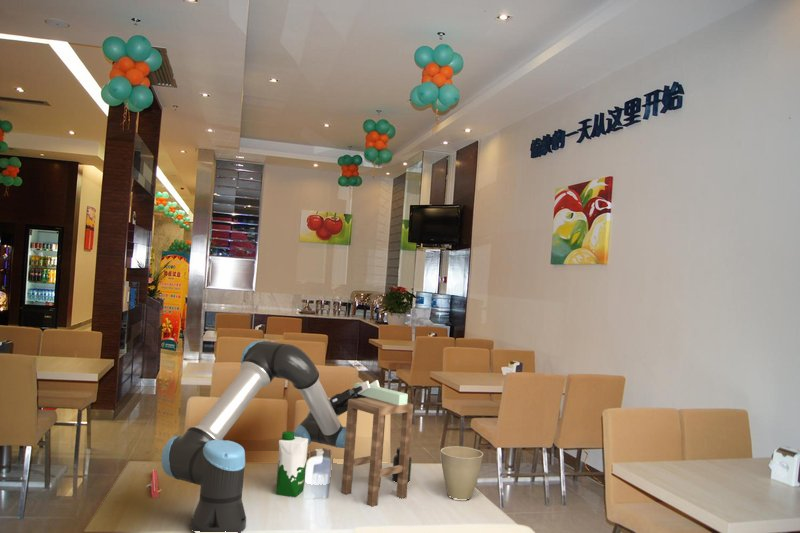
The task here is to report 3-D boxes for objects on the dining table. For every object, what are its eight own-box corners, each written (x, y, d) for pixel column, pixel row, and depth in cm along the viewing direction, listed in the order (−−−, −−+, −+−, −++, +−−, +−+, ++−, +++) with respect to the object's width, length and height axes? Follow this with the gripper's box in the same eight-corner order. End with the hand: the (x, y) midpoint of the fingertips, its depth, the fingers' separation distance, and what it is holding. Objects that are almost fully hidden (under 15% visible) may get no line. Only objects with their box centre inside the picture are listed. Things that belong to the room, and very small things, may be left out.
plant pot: (447, 487, 223) (450, 443, 224) (485, 496, 217) (488, 451, 217) (430, 498, 210) (434, 452, 211) (471, 508, 203) (474, 460, 204)
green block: (407, 404, 210) (407, 394, 210) (398, 405, 207) (399, 394, 207) (361, 392, 227) (362, 382, 227) (353, 392, 224) (354, 383, 224)
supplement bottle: (413, 481, 228) (415, 448, 229) (403, 485, 222) (405, 452, 223) (398, 476, 232) (400, 445, 232) (388, 480, 226) (390, 448, 227)
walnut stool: (371, 506, 198) (379, 408, 199) (341, 492, 210) (348, 399, 211) (406, 497, 209) (413, 404, 211) (375, 484, 221) (382, 396, 222)
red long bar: (146, 501, 192) (162, 496, 194) (145, 495, 192) (160, 489, 193) (146, 477, 214) (160, 472, 216) (144, 472, 214) (158, 467, 216)
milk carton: (282, 487, 211) (286, 429, 212) (307, 490, 209) (311, 432, 210) (272, 495, 202) (276, 434, 203) (297, 498, 201) (302, 437, 201)
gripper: (315, 398, 230) (352, 375, 216) (350, 395, 242) (387, 373, 227) (320, 417, 227) (358, 395, 213) (355, 413, 239) (393, 392, 224)
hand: (373, 384), depth 220 cm, fingers closed on green block, 4 cm apart
